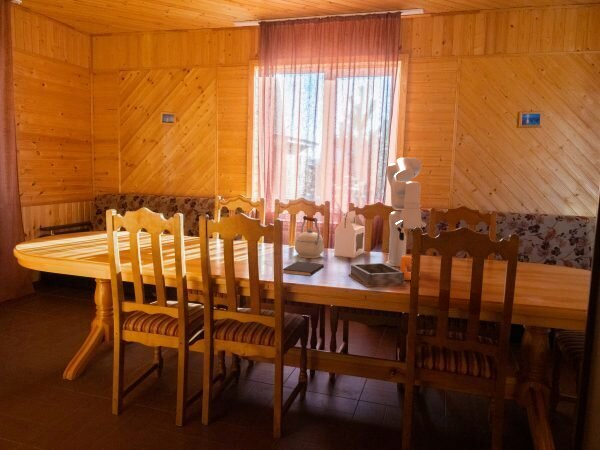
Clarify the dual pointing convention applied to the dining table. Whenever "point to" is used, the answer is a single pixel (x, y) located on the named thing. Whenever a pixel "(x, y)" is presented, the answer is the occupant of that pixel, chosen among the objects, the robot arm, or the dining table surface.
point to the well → (377, 275)
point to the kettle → (309, 241)
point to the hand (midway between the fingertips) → (410, 239)
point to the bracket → (405, 266)
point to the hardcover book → (303, 268)
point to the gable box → (349, 236)
